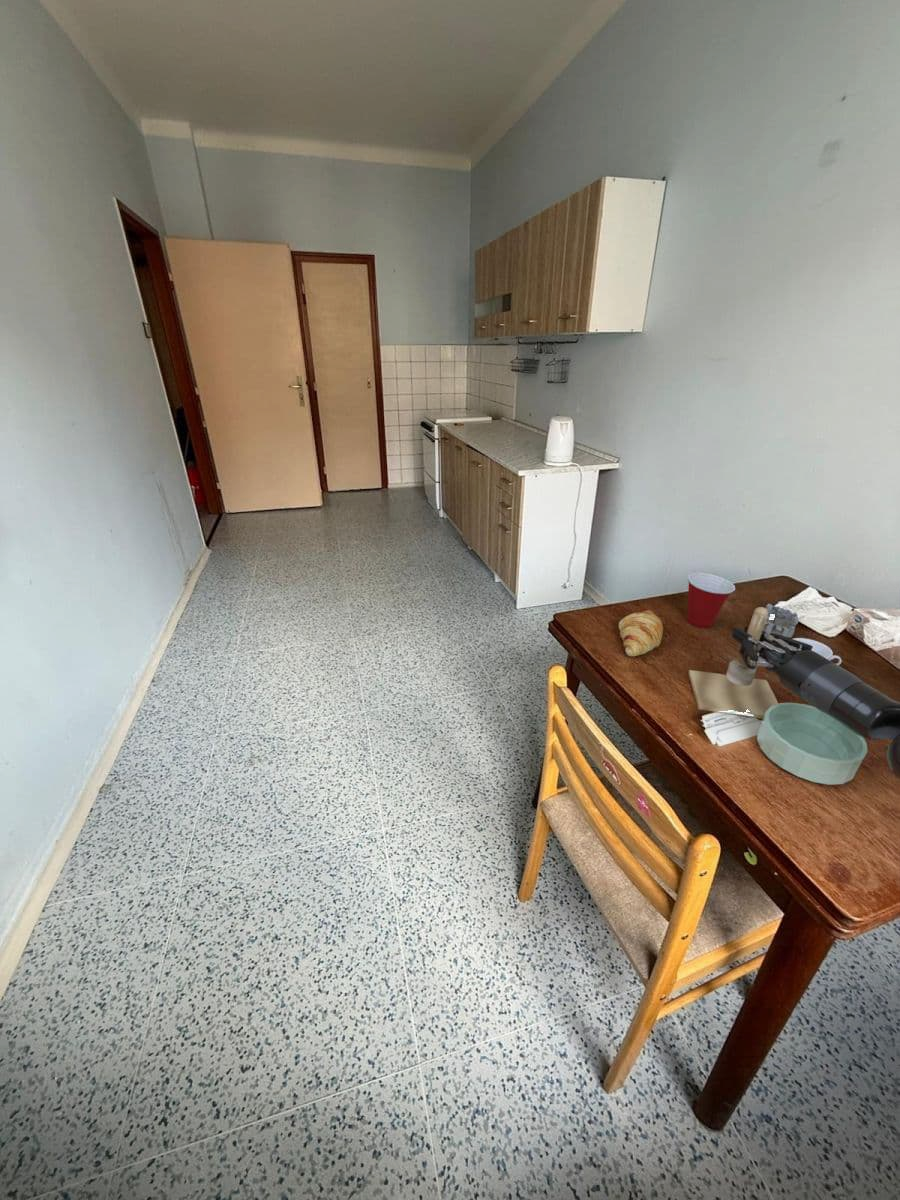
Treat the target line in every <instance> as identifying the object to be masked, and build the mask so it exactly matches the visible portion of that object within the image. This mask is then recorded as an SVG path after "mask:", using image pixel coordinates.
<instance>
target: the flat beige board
mask: <svg viewBox="0 0 900 1200" xmlns="http://www.w3.org/2000/svg"><path fill="white" fill-rule="evenodd" d="M688 677H689V681H690V684H691V687H692V691H693V695H694V699H695V701H696V702H695V703H696V705H697V710H700V711H706V712H707V711H708V712H715V713H719V712H718V711H728V710H734V711H738V712H743V713H744V712H746V710H747V709H748V710H749V711H750V712H747V713H750V714H753V715H754V716H755V717H756V719H759V720H763V717H764V715H765V712H766V711H767V710H768V709H769V708H770V707H771V706H773V705H776V704H779V702H778V699H777V698H776V696H775V693H774V692H773V690H772V687H771V685H770V683H769V682H768V680H767V679H761V678H754V679H753V682H752V684H751V685H748V686H741V685H737V684H734V683H732V682H731V681H729V680H728V679H727V677H726V674H722V673H715V672H707V671H702V670H693V669H689V670H688Z"/></svg>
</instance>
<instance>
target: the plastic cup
mask: <svg viewBox="0 0 900 1200" xmlns="http://www.w3.org/2000/svg"><path fill="white" fill-rule="evenodd" d="M687 582H688V595H687V615H686V616H687V617H686V619H687V622H688V624H690V625H692V626H694V627H696V628H702V629H707V628H710V627H712V625H713V624H714V623H715V620H716V618H717V616H718V615H719V614H720V611H721V610H722V608H723V606H724V604H725V603H726V601H727V599H728V598H729V596H730V595H731V594H732V593H734V592H735V590H736V586H735V584H734V583H732V581H731V580H729V579H726V578H724V577H722V576H720V575H716V574H712V573H707V572H692V573H690V574H688V576H687Z"/></svg>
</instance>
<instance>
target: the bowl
mask: <svg viewBox="0 0 900 1200" xmlns="http://www.w3.org/2000/svg"><path fill="white" fill-rule="evenodd" d="M761 720H762V721H761V723H760V725H759V728H758V730H757V735H756V741H757V743H758V746H759V748H760V750H761V751H762V752H763V753H764V754H765V755H766V757H767V759H769V760H770V761H771V762H773V763H774V764H776V765H777V766H778V767H780V768H781V769H783V770H784V771H786V772H788V773H791V774H792V775H794V776H796V777H797V778H801V779H803V780H807V781H809V782H812V783H817V784H822V785H829V786H831V785H843V784H846V783H849V782H850V781H852V780H853V779H854V777H856V774H857V772H858V770H859V768H860V766H861V765H862V763H863V761H864V759H865V758H866V756H867V754H868V753H869V751H868V744H867V741H866V740H865V738H863V737H861V736H859V735H857V734H856V733H854V732H853V731H851V730H850V729H848V728H847V727H846V726H844V725H843V724H841V723H840V722H838V721H837V720H835V719H834V718H833V717H831V716H829V715H828V714H826V713H824V712H822V711H820V710H818V709H817V708H815V707H814V706H812V705H810V704H805V703H798V702H778V704H776V705H773V706H771V707H770V708H769V709H768V710H767V711H766V712H765V715H764V717H763V719H761Z"/></svg>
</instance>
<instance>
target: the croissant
mask: <svg viewBox="0 0 900 1200" xmlns="http://www.w3.org/2000/svg"><path fill="white" fill-rule="evenodd" d="M618 629H619V636H620V638H621V640H622V645H623V647H624V648H625V654H626V655H627V656H628V657H632V658H633V657H637V656H641V655H645V654H647V653H649V652H651V651H652V650H653V649H655V648H657V647H660V644H661V642H662V639H663V634H664V626H663V622H662V620H661V618H660V617H658V615H656V614H655V612H654V611H653V610H650V609H645V610H643V611H638V612H633V613H630V614H628V615H626V616H625V617H623V618H622V619H621V620H619V622H618Z"/></svg>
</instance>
